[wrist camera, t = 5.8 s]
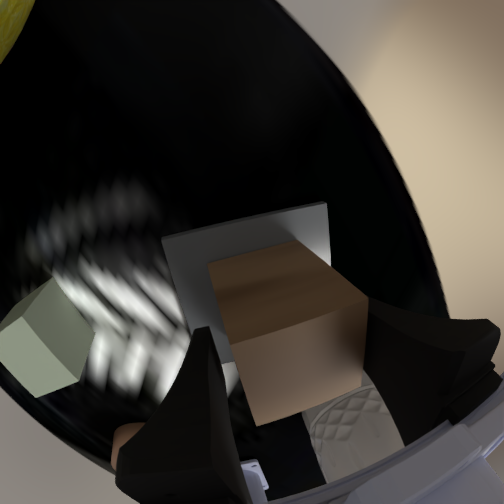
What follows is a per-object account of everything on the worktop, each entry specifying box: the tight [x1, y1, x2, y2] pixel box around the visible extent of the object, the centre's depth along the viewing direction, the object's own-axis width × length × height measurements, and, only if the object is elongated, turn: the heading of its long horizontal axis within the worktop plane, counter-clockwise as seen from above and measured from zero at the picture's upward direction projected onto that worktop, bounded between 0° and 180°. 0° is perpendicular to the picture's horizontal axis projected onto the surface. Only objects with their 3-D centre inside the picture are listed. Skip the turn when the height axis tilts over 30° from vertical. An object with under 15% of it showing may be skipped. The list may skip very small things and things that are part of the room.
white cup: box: [302, 370, 405, 484], centre depth 16 cm, size 8×8×10 cm
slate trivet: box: [161, 201, 331, 364], centre depth 15 cm, size 8×8×1 cm
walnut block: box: [207, 240, 368, 426], centre depth 12 cm, size 4×4×6 cm
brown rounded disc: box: [111, 423, 145, 470], centre depth 17 cm, size 6×6×3 cm
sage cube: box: [0, 277, 95, 398], centre depth 11 cm, size 4×4×4 cm
